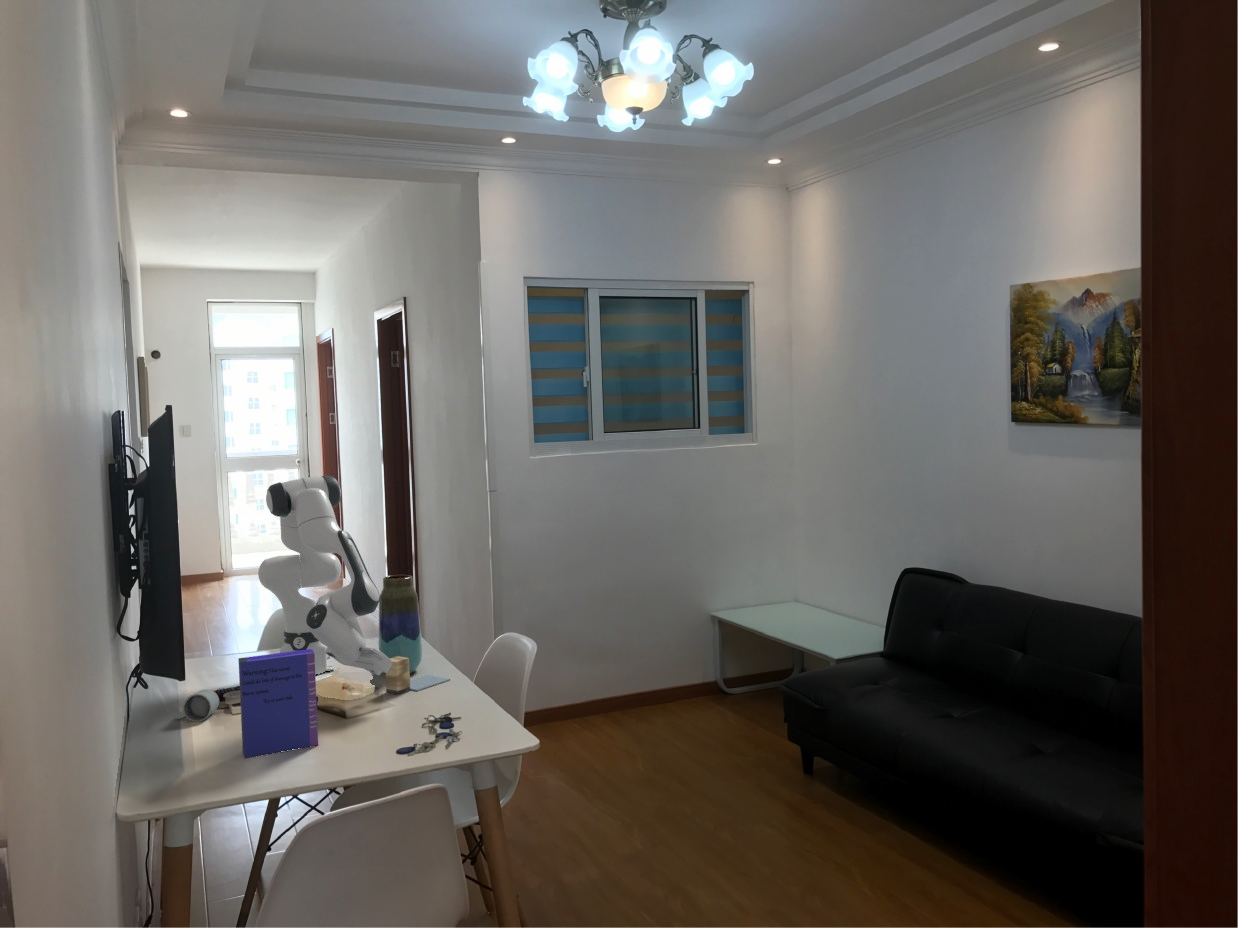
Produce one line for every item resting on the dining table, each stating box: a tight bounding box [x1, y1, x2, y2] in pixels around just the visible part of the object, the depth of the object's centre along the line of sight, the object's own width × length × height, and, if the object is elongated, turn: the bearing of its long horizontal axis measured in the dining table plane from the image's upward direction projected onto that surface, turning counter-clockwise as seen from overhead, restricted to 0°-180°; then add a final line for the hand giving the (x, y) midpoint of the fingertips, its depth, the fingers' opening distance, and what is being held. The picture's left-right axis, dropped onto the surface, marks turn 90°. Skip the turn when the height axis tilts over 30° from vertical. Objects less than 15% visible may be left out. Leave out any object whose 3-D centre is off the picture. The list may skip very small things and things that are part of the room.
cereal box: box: [238, 649, 319, 759], centre depth 239 cm, size 17×5×24 cm, turn 117°
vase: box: [378, 574, 423, 674], centre depth 310 cm, size 14×14×31 cm
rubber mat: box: [410, 674, 451, 692], centre depth 297 cm, size 14×10×1 cm
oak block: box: [385, 656, 411, 696], centre depth 288 cm, size 5×5×10 cm
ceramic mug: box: [176, 689, 220, 723], centre depth 268 cm, size 11×8×8 cm
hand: (377, 672), depth 282 cm, fingers closed
